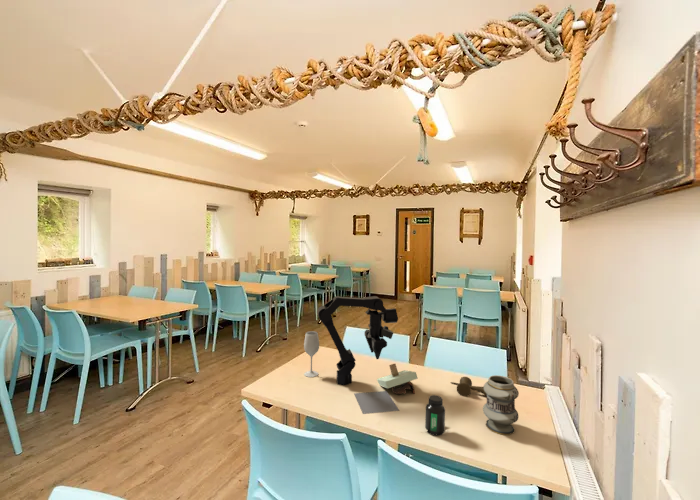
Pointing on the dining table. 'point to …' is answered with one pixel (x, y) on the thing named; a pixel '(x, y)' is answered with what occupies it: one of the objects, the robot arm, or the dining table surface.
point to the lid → (396, 377)
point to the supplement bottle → (435, 416)
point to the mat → (375, 402)
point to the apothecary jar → (500, 404)
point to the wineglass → (311, 349)
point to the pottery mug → (403, 388)
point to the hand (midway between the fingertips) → (374, 355)
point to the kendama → (467, 387)
